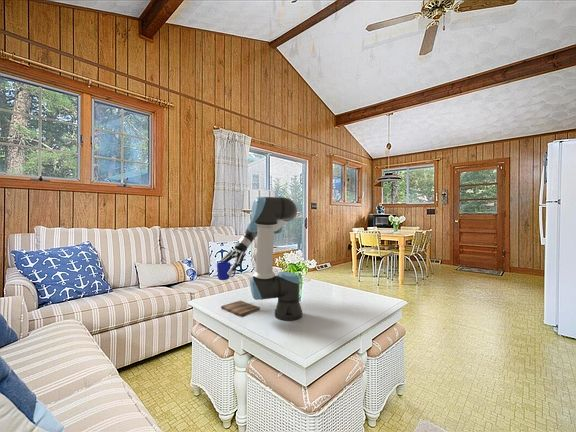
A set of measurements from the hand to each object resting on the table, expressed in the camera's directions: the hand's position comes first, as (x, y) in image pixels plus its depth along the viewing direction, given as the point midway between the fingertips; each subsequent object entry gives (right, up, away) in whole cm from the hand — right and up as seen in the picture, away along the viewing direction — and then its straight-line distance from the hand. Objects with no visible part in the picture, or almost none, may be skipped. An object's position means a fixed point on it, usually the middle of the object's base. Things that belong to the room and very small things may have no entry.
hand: (222, 273), depth 169 cm
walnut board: (+12, -19, -7) cm, 24 cm away
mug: (+2, -4, +2) cm, 5 cm away
